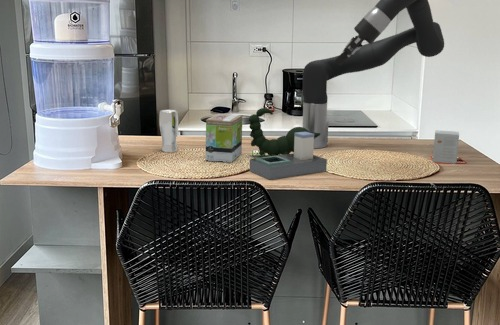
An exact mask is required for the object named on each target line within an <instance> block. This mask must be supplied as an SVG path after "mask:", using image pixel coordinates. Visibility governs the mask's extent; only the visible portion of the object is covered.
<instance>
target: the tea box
mask: <svg viewBox="0 0 500 325" xmlns="http://www.w3.org/2000/svg"><path fill="white" fill-rule="evenodd" d="M242 145H243V115H242V114H229V113H228V114H227V113H216V114H214V115H213V116H210V117H209V118H207V119H206V120H205V158H204V159H205V161H206V160H208V161H207V162H216V161H223V162H222V163H232V162H233V161H235V160H236V159H237V158H238V157H240V155H242V152H243V151H242V150H243V149H242V148H243V147H242ZM226 161H227V162H226Z"/></svg>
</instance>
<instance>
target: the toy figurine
mask: <svg viewBox="0 0 500 325" xmlns="http://www.w3.org/2000/svg"><path fill="white" fill-rule="evenodd" d="M265 114H270V115H271V116H272V115H273V114H274V113H273V111H272V110H271V109H270V108H267V107H261V108H259V109H257V110H256V113H254V114H251V115H250V116H249V118H248V121H249V122H250V124H249V129H250V130H251V131H250V134H249V136H250V137H251V138H252V140H251V141H250V146H251V147H256V148H257V147H258V150H259V151H258V154H259V156H265V154H267V155H268V156H278V155H286V154H292V153H294V137H295V136H294V133H297V132H309V131H308V130H307V129H305V128H303V126H296V127H293V128H291V129H290V130H288V131H287V133H286V135H282V136H279V137H278V138H277V139H275V138H274V139H267V138H266V136H265V135H264V132H263V129H262V125H261V124H262V123H261V122H260V117H263V116H264V115H265ZM309 133H312V132H309ZM313 134H314V139H315V138H316V137H318V136H319V135H320V133H313Z"/></svg>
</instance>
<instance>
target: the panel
mask: <svg viewBox="0 0 500 325" xmlns="http://www.w3.org/2000/svg"><path fill="white" fill-rule="evenodd" d="M327 161H328V159H327V158H324V157H321V156H318V155H315V154H313V159H306V160H300V159H297V158H294V152H292V153H289V154H286V155H281V154H279V155H278V156H270V155H268V156H261V157H256V158H249V172H250V173H253V174H255V175H258V176H260V177H262V178H264V179H265V180H269V181H271V180H272V181H273V180H278V179H284V178H285V179H286V178H291V177H296V176H297V177H298V176H303V175H311V174H316V173H322V172H327V164H328V162H327Z"/></svg>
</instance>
